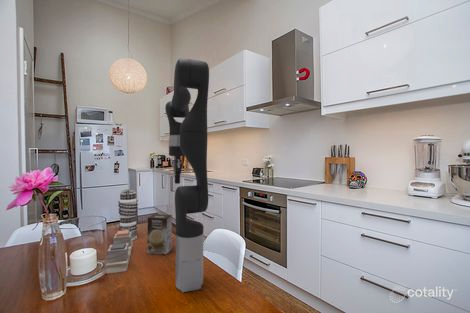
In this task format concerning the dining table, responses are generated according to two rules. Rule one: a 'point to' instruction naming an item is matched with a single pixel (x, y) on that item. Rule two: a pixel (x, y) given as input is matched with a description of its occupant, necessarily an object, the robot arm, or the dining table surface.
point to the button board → (119, 255)
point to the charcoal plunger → (118, 246)
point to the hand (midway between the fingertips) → (177, 183)
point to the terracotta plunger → (123, 233)
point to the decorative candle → (128, 211)
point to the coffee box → (159, 234)
